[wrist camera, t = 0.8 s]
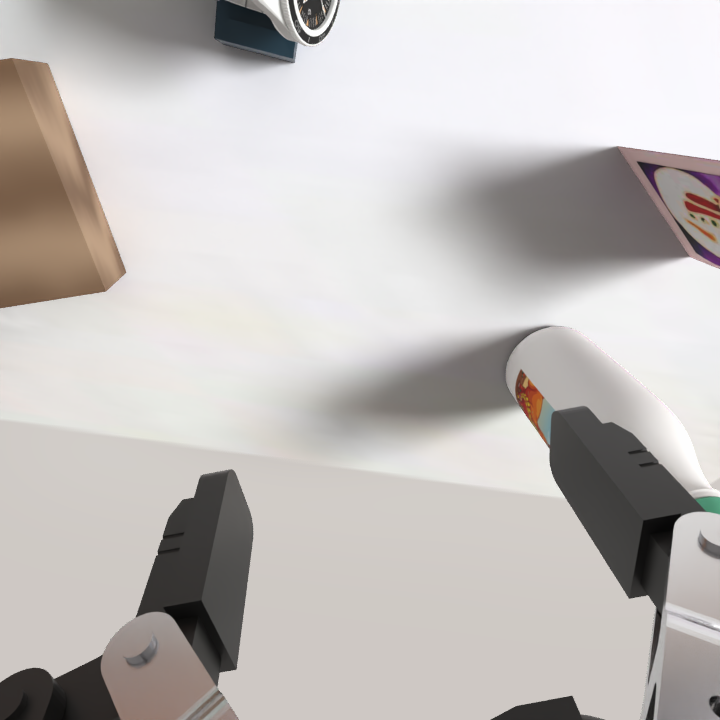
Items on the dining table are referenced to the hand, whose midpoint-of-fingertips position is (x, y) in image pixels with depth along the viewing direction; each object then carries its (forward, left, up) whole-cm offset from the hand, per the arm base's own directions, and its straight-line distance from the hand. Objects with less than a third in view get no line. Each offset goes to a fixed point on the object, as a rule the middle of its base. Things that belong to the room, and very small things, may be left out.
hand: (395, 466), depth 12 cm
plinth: (-6, -22, -26) cm, 35 cm away
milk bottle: (+14, +16, -26) cm, 34 cm away
